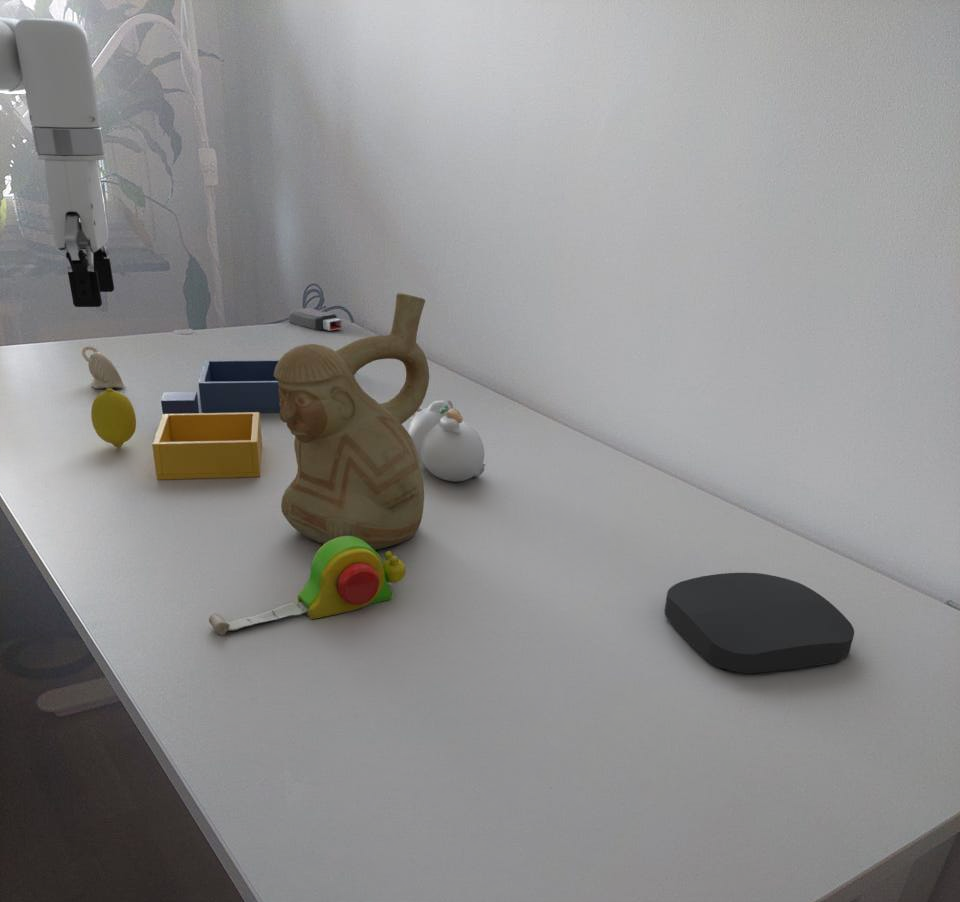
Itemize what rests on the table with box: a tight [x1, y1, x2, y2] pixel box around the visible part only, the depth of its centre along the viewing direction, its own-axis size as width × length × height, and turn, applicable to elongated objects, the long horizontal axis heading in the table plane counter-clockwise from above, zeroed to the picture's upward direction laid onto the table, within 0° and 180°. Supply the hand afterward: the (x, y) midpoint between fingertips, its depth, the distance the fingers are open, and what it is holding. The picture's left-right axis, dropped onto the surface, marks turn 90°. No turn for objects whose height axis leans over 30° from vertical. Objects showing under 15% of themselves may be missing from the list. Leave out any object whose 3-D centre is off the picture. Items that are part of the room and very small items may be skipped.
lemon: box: [90, 387, 137, 448], centre depth 128 cm, size 6×6×8 cm
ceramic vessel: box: [274, 292, 430, 551], centre depth 102 cm, size 17×20×25 cm
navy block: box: [160, 391, 200, 415], centre depth 138 cm, size 4×4×4 cm
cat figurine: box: [407, 399, 486, 483], centre depth 125 cm, size 10×8×15 cm
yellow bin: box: [151, 412, 263, 481], centre depth 126 cm, size 13×13×5 cm
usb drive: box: [288, 307, 343, 332], centre depth 198 cm, size 5×12×3 cm, turn 47°
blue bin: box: [197, 359, 281, 414], centre depth 150 cm, size 14×14×5 cm
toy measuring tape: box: [208, 536, 407, 636], centre depth 91 cm, size 6×20×7 cm, turn 120°
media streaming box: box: [664, 572, 855, 674], centre depth 91 cm, size 15×15×3 cm
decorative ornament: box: [81, 346, 126, 390], centre depth 155 cm, size 4×8×5 cm, turn 37°
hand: (95, 298), depth 121 cm, fingers open, 9 cm apart
